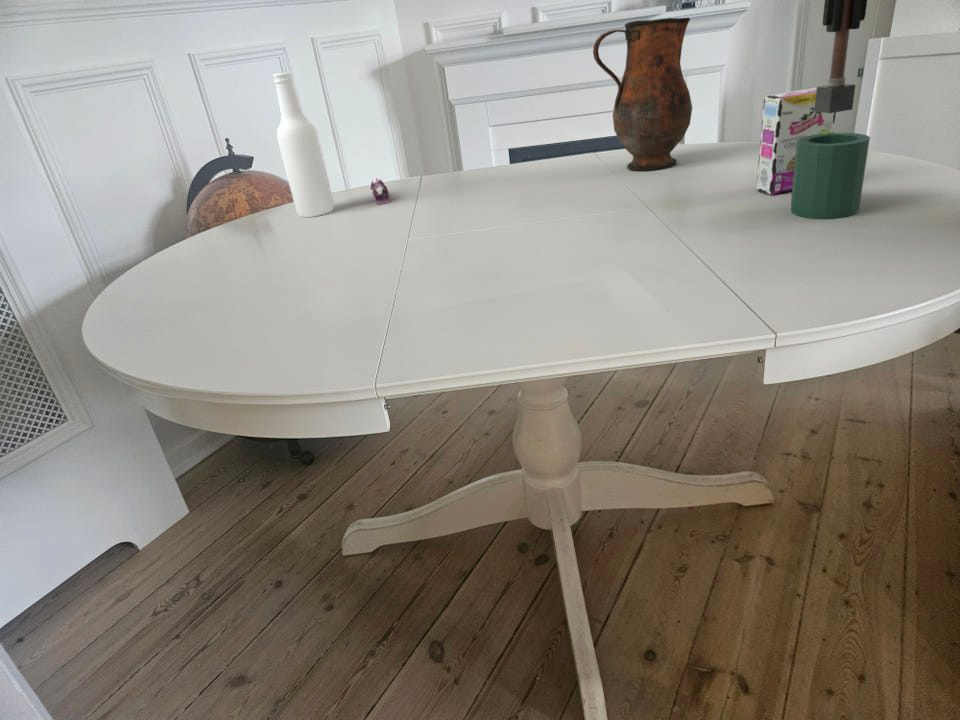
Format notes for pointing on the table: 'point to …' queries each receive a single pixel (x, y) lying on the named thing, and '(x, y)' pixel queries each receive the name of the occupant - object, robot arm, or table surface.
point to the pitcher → (651, 92)
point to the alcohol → (301, 153)
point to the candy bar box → (787, 136)
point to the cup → (829, 175)
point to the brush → (838, 70)
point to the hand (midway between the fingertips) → (842, 29)
